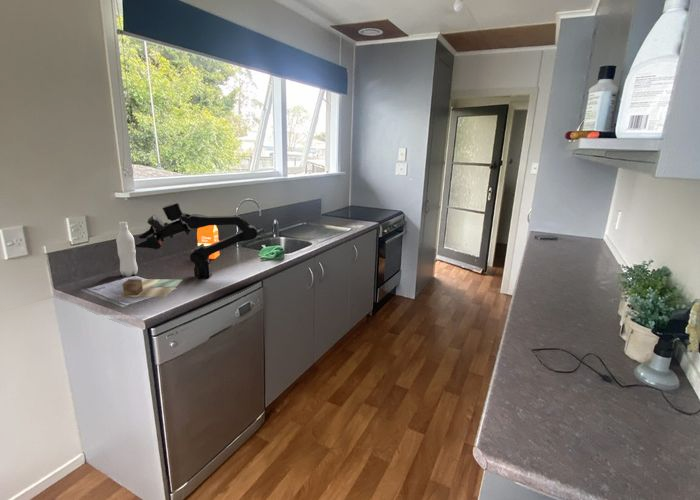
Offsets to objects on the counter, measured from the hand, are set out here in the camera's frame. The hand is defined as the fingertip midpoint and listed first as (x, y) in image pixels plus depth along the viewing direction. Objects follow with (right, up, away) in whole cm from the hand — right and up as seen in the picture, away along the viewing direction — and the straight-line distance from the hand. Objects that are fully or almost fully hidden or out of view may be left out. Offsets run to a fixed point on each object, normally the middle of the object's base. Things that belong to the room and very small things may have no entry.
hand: (137, 241), depth 163 cm
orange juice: (+15, -8, +43) cm, 46 cm away
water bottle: (-10, -15, +11) cm, 21 cm away
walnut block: (+6, -21, -12) cm, 25 cm away
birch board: (+10, -20, -6) cm, 23 cm away
